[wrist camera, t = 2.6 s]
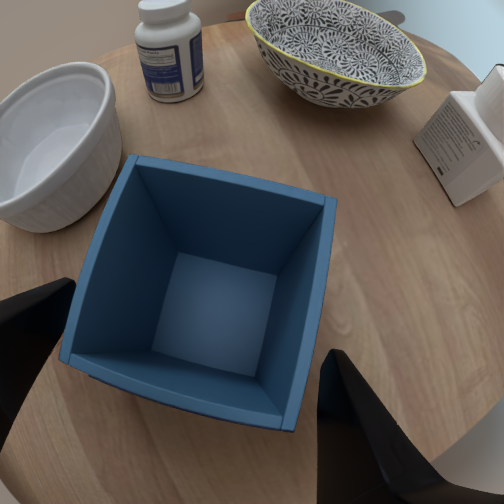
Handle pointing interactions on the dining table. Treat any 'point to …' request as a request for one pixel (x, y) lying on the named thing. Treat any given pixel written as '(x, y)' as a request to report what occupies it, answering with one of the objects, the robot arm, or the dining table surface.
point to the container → (467, 139)
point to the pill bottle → (170, 49)
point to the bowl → (335, 51)
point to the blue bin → (204, 291)
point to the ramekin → (57, 146)
